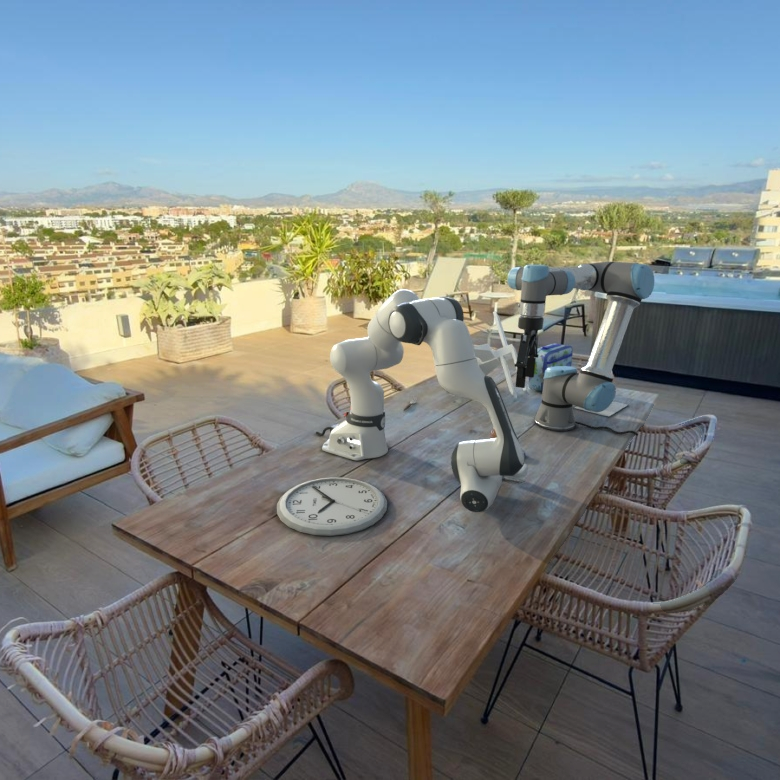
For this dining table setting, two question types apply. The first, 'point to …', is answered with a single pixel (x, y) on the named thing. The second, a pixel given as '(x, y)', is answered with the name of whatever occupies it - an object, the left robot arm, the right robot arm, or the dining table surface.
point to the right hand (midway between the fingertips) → (524, 381)
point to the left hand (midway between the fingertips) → (496, 457)
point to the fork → (411, 403)
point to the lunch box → (549, 362)
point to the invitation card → (608, 409)
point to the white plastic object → (498, 357)
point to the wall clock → (331, 506)
